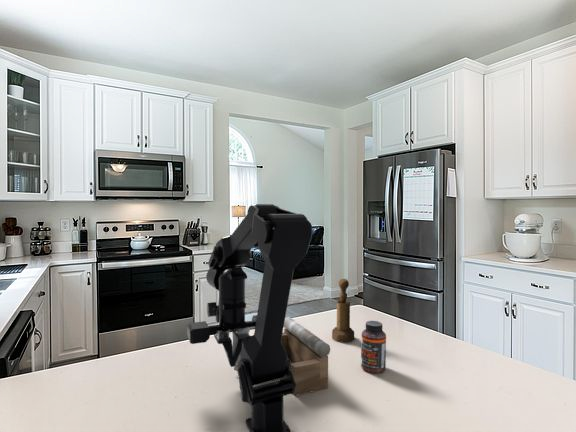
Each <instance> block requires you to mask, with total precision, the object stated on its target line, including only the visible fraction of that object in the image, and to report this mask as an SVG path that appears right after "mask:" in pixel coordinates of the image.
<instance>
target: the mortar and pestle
mask: <svg viewBox="0 0 576 432" xmlns="http://www.w3.org/2000/svg"><path fill="white" fill-rule="evenodd" d="M338 286H339V289H340V293H339V299H340V300H337V301H336V326H335V327H334V328H333V329H332V331H331V338H332V340H333V341H335V342H339V343H351V342H354V341H355V330H354V329H352V328H351V323H350V322H351V302H350V301H349V300H347V298H348V293H347V289H348V287H349V280H348V279H347V278H341V279H339V281H338Z"/></svg>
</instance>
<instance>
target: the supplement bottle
mask: <svg viewBox="0 0 576 432" xmlns="http://www.w3.org/2000/svg"><path fill="white" fill-rule="evenodd" d="M360 341H361V343H360V344H361V345H360V349H361V350H360V367H361V368H362V369H363V370H364V371H365V372H367V373H372V374H380V373H382V372H384V371H385V370H386V365H387V363H386V361H387V334H386V332H385V331H384V330H383V323H382V322H381V321H378V320H368V321H366V322H365V329H363V330H362V332H361V339H360Z"/></svg>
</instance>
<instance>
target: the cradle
mask: <svg viewBox="0 0 576 432" xmlns="http://www.w3.org/2000/svg"><path fill="white" fill-rule="evenodd" d="M281 343H282V345H283V347H284V349H285V351H286V353H287V356H288V358H289V361H290V362H291V363H290V369H291V372H292V375H293V378H294V381H295V383H296V387H295V392H294V394H293V396H294V397H295V396H296V397H297V396H300V395H305V394H308V393H314V392H317V391H322V390H323V391H324V390H325V389H329V356H328V355H330V353H331V346H330V345H329V344H328V343H327V342H325V341H324V340H323V339H321V338H320V337H319V336H317V335H315V334H314V333H312V332H311V331H310V330H308V329H307V328H306V327H304V326H303V325H301V324H300V323H298V322H297V321H296V320H294V319H293V318H292V317H289V316H287V317H286V316H285V322H284V327H283V333H282V338H281Z"/></svg>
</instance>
